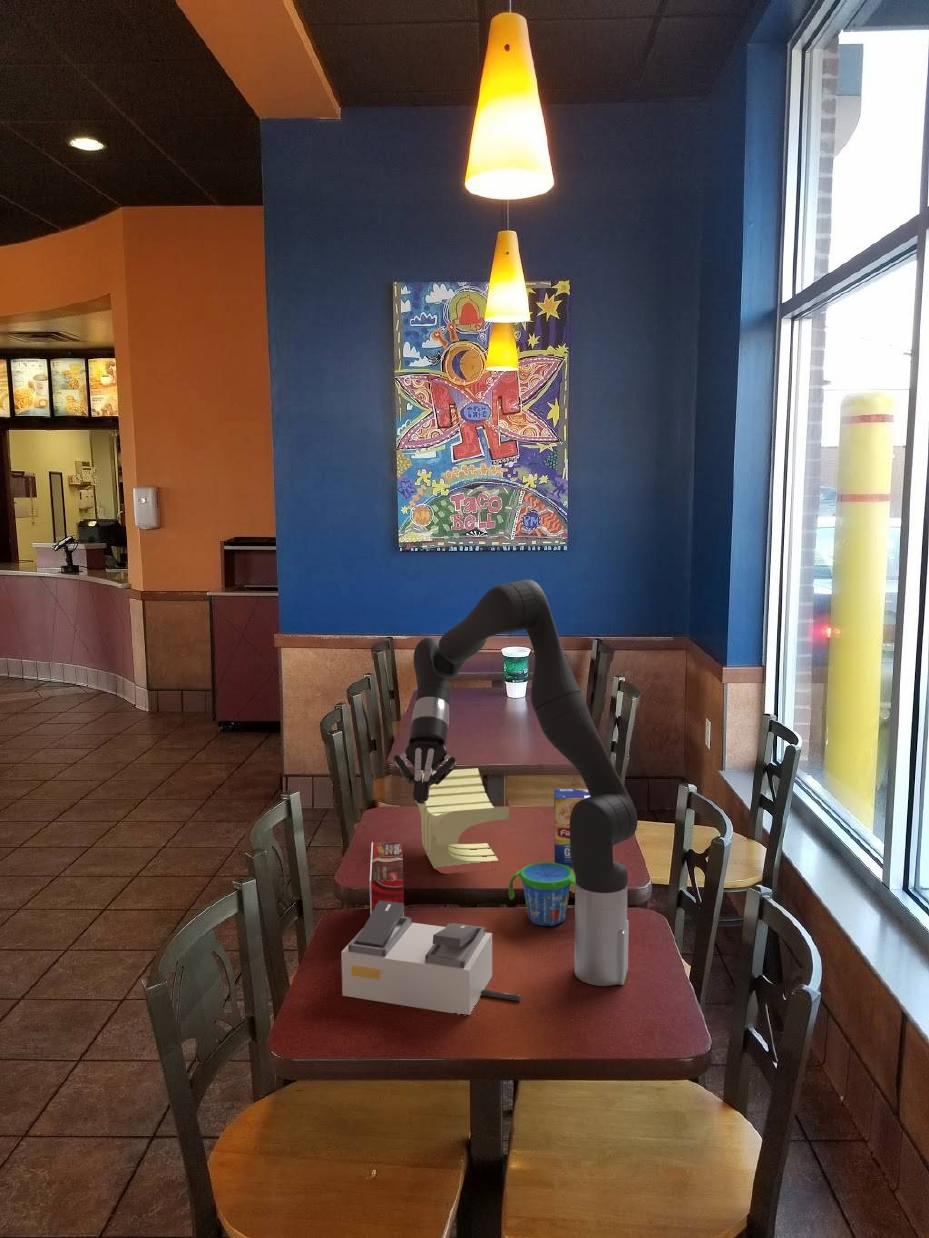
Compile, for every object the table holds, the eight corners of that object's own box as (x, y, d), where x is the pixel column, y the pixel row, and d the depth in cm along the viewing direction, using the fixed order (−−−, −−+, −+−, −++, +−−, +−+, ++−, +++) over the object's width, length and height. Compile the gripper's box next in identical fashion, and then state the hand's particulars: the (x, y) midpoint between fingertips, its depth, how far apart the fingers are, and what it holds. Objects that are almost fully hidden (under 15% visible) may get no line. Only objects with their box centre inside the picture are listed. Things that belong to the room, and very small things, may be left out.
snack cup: (500, 922, 194) (500, 874, 192) (521, 902, 203) (521, 856, 202) (573, 937, 187) (574, 888, 185) (591, 916, 196) (592, 868, 195)
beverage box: (606, 899, 204) (607, 799, 201) (554, 898, 205) (554, 798, 202) (603, 886, 211) (605, 789, 208) (553, 884, 212) (554, 788, 209)
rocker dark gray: (404, 909, 174) (403, 903, 174) (382, 951, 165) (381, 944, 164) (379, 906, 176) (378, 899, 175) (357, 947, 166) (355, 940, 165)
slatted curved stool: (415, 842, 238) (414, 772, 236) (478, 836, 241) (477, 768, 239) (438, 890, 209) (437, 812, 206) (509, 884, 212) (509, 806, 210)
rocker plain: (477, 935, 170) (478, 926, 170) (459, 947, 160) (460, 938, 160) (452, 931, 172) (452, 923, 172) (432, 943, 161) (433, 934, 161)
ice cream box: (372, 902, 203) (371, 842, 202) (403, 901, 204) (402, 841, 202) (371, 947, 184) (369, 880, 182) (404, 945, 184) (403, 879, 182)
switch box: (530, 980, 170) (530, 931, 169) (510, 1023, 157) (510, 970, 156) (373, 957, 179) (372, 911, 178) (341, 996, 166) (340, 946, 164)
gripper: (395, 713, 193) (383, 791, 183) (460, 715, 191) (452, 794, 181) (400, 732, 199) (389, 809, 189) (463, 734, 197) (456, 811, 187)
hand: (420, 801), depth 185 cm, fingers closed
